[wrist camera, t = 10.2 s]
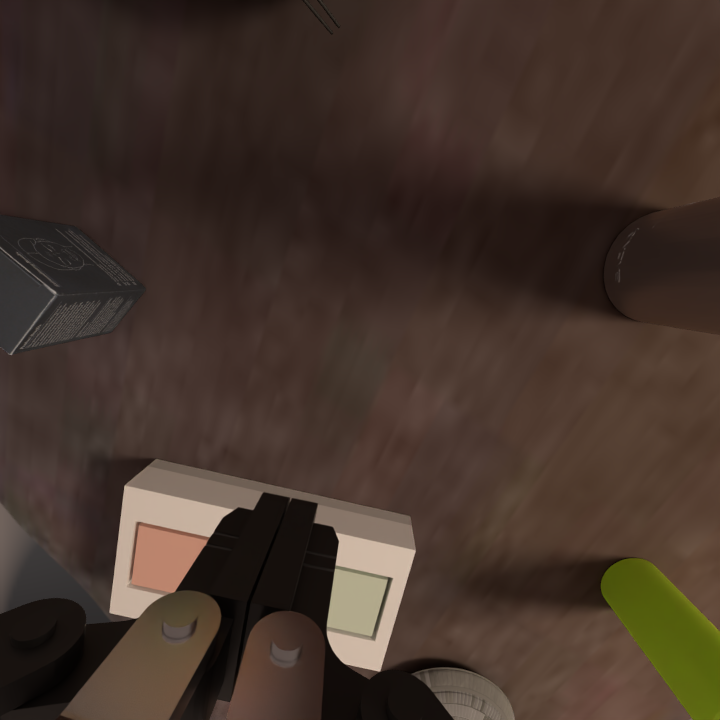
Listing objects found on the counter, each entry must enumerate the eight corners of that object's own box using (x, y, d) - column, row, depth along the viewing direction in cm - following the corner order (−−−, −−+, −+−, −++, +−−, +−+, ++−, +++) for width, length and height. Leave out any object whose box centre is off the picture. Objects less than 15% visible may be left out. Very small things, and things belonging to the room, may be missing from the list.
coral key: (220, 519, 37) (207, 540, 34) (210, 573, 38) (197, 598, 35) (157, 505, 37) (138, 525, 34) (149, 560, 38) (131, 584, 35)
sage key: (386, 556, 37) (387, 580, 35) (371, 609, 39) (371, 636, 36) (324, 542, 37) (320, 565, 34) (311, 596, 39) (306, 622, 36)
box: (41, 274, 35) (-98, 272, 25) (77, 225, 34) (-51, 201, 24) (112, 335, 36) (7, 358, 26) (149, 289, 35) (56, 293, 25)
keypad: (410, 516, 39) (415, 550, 34) (371, 651, 42) (371, 701, 37) (156, 458, 38) (124, 485, 33) (137, 601, 42) (105, 644, 37)
